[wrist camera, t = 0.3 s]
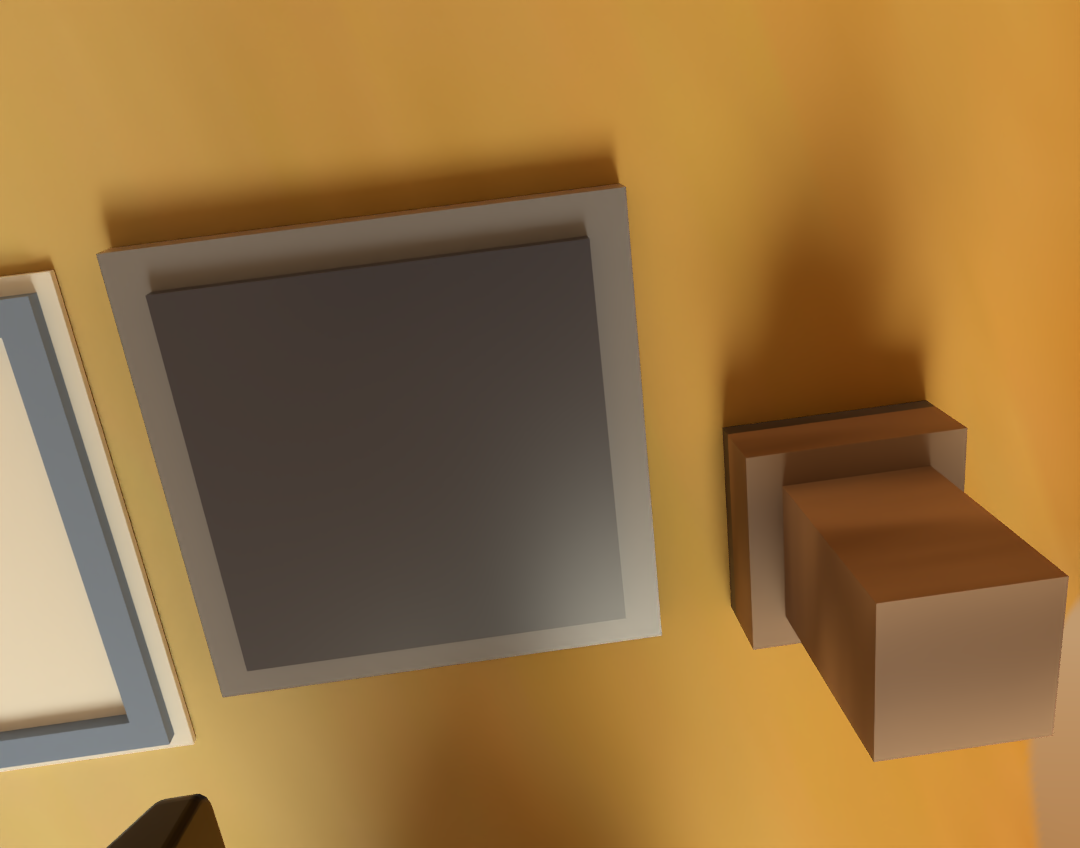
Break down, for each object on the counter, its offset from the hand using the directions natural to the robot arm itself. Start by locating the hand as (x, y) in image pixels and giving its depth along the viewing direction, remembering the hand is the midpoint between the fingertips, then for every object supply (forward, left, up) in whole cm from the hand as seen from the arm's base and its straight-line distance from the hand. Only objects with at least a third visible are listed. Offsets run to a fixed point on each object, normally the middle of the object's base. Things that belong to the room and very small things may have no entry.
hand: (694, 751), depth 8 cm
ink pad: (-2, +4, -13) cm, 14 cm away
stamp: (-5, -6, -13) cm, 16 cm away
